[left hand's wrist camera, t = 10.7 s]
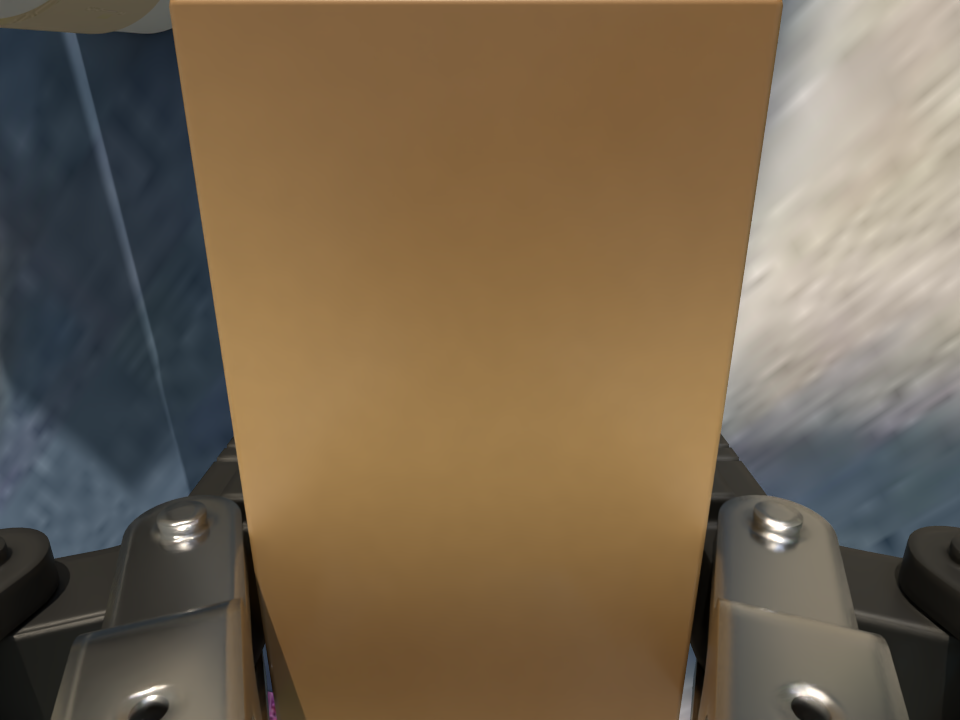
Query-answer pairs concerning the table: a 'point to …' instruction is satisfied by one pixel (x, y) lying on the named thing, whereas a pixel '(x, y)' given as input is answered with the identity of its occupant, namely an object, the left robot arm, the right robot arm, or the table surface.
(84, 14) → the coffee cup
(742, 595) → the left robot arm
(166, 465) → the table surface
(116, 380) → the table surface
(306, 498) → the beam
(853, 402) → the table surface
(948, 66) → the table surface
